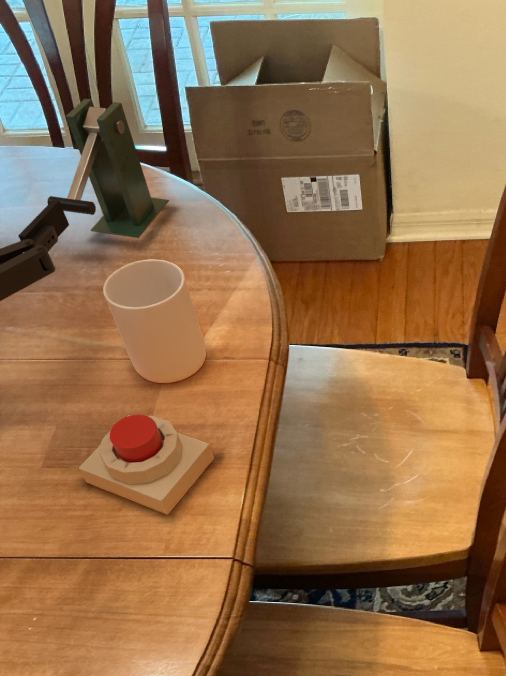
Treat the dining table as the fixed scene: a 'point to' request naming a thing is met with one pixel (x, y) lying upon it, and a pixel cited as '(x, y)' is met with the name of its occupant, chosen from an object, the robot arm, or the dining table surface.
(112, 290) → the cup
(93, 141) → the bolt lever
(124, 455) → the button
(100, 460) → the confirm box
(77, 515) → the dining table surface
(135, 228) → the lock bracket
